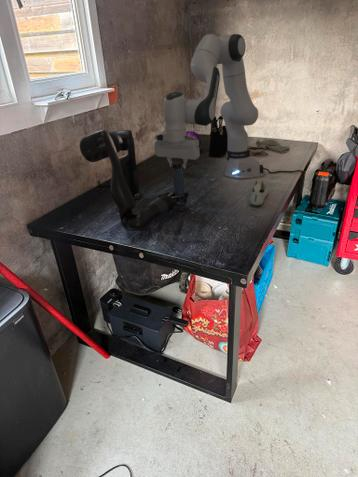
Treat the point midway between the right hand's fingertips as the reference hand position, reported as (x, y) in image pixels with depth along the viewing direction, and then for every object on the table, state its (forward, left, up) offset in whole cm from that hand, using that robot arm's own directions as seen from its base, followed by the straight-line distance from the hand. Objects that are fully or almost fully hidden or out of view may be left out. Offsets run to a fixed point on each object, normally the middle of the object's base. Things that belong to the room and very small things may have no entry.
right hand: (177, 167), depth 144 cm
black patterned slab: (-30, -87, -20) cm, 94 cm away
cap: (0, 0, +2) cm, 2 cm away
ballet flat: (-38, -8, -20) cm, 44 cm away
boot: (-30, -114, -20) cm, 119 cm away
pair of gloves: (-59, -88, -20) cm, 107 cm away
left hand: (-2, -2, -13) cm, 13 cm away
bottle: (0, 0, -20) cm, 20 cm away
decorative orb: (-9, -92, -20) cm, 95 cm away
